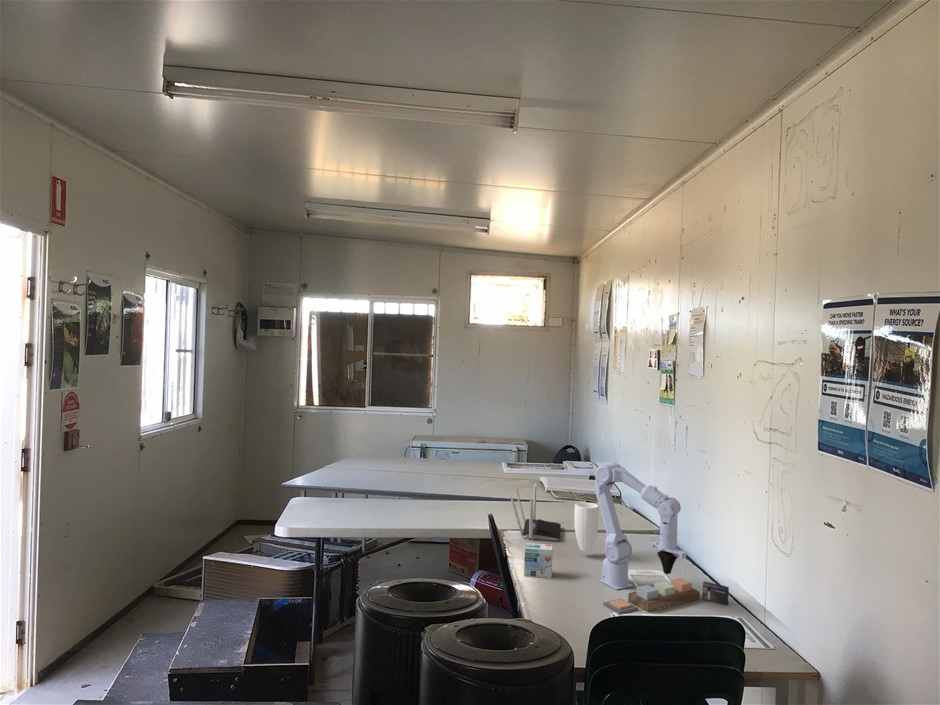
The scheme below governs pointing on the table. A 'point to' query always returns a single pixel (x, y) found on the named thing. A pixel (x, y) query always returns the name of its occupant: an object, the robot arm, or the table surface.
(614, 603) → the tile
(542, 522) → the wireless router
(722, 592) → the mini dv tape
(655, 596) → the block slate
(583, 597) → the table surface
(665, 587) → the block sage
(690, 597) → the wooden block tray
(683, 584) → the block terracotta
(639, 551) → the table surface
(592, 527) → the cup
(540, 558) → the light bulb box
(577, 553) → the table surface
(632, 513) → the table surface
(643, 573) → the photo frame
